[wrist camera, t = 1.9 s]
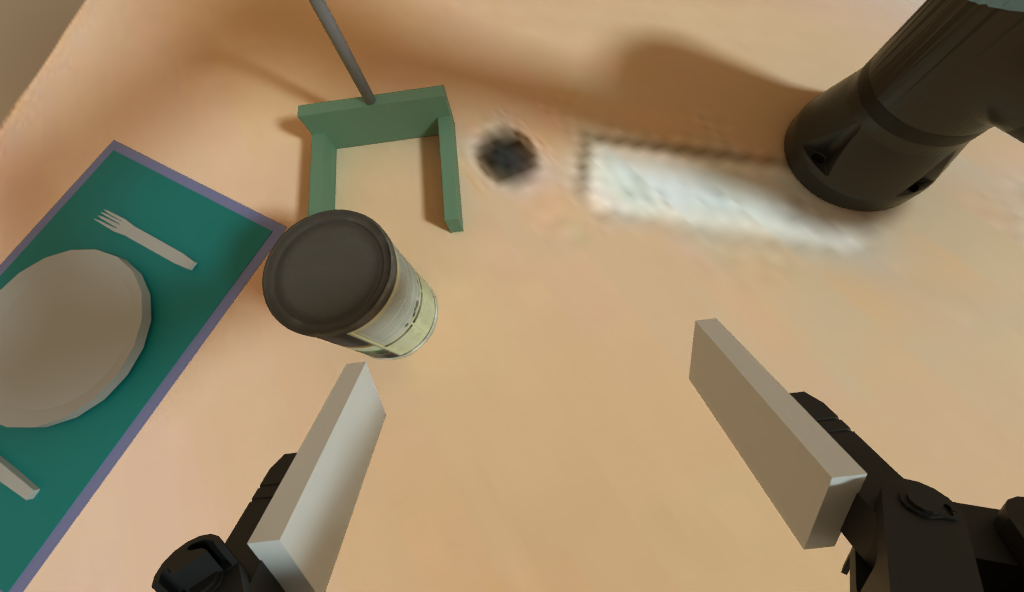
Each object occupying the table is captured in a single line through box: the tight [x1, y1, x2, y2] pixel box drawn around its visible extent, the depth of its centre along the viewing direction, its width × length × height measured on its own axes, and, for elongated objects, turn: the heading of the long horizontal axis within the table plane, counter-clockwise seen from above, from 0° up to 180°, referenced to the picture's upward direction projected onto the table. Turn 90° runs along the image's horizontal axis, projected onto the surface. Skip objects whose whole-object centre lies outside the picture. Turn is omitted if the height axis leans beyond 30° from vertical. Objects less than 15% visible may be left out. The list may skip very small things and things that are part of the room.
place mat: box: [0, 140, 287, 592], centre depth 44 cm, size 45×30×2 cm
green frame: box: [298, 0, 463, 233], centre depth 36 cm, size 16×17×24 cm
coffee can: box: [262, 210, 438, 360], centre depth 36 cm, size 10×10×14 cm
